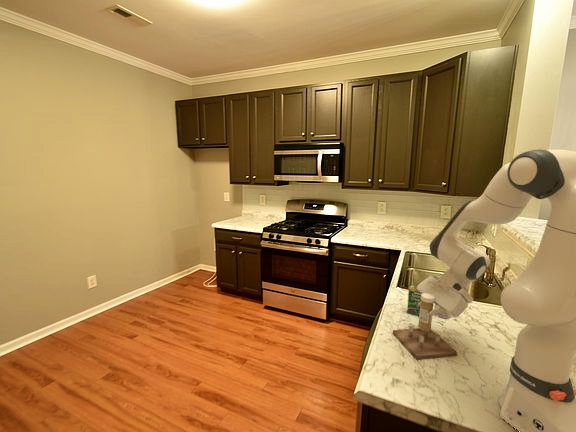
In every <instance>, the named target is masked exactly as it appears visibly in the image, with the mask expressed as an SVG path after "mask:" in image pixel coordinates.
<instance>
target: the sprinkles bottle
mask: <svg viewBox="0 0 576 432" xmlns="http://www.w3.org/2000/svg"><path fill="white" fill-rule="evenodd" d="M434 299H435V297H434V296H433V295H431V294H428V293H423V294H421V305H420V313H419V316H418V324H417V328H420V329H421V330H423V331H430V330H432V321H433V316H431V315H430V314H429V313H428V311H429V310H430V309H434V304H435V303H434Z"/></svg>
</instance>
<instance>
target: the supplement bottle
mask: <svg viewBox="0 0 576 432" xmlns="http://www.w3.org/2000/svg"><path fill="white" fill-rule="evenodd" d="M436 306H437V305H436V304H435V303H434V309H435V308H437V307H436ZM435 315H436V316H437V317H439V318H444V319H448V318H450V317H452V316H451V315H450V314H449V313H447V312H446V311H445V310H443V311H442V312H440V313H437V314H435Z"/></svg>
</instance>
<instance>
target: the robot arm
mask: <svg viewBox="0 0 576 432" xmlns="http://www.w3.org/2000/svg"><path fill="white" fill-rule="evenodd" d="M533 197H534V198H535V199H538V200H544V199H548V201H549V202H550V205H551V208H550V213H549V215H548V219H547V221H546V225H545V228H544V231H543V233H542V236H541V238H540V239H541V240H540V243H539V245H538V249H537V250H536V252H535V255H534V256H533V258H532V259H531V260H530V262H529V264H527V266H526V268H525V269H524V270H523V272H522V273H521V274H520V275H519V276H518V277H517V278H516V279H515V280H514V281H513V282H511V283H510V284H508V285H507V286H505V287H504V288H503V289H502V291H501V293H500V304H501V308H502V309H503V311H504V312H505V314H506V315H507V316H508V317H509V318H510V319H511V320H513V321H514V322H517V323H519V324H523V325H526V326H524V327H523V328H522V329H520V331H519V332H518V334H517V338H516V343H515V349H514V350H515V351H514V356H512V357H511V361H510V365H509V373H510V374H509V378H508V381H507V384H506V386H505V388H504V391H503V392H502V393H501V395H500V396H499V399H498V403H499V406H500V413H499V417H500V418H501V420H503V419H504V420H505V421H504V420H503V421H504V422H505V423H507V424H508V423H509V424H510V425H509V424H508V425H509V426H510V427H512V428H513V427H514V428H515V429H514V428H513V429H514V430H516V429H517V430H518V431H520V432H576V389H574V387H573V383H572V380H571V378H570V377H571V376H570V375H571V372H572V367H573V363H574V360H575V355H576V151H575V150H568V149H563V148H561V149H560V148H559V149H558V148H556V149H555V148H553V149H542V148H540V149H531V150H528V151H524V152H521V153H520V154H518V155H516V156H514V158H513V159H511V162H509V163H506V164H504V165H503V166H501V168H500V169H499V170H498V171H497V172H496V173H495V175H494V176H493V178H491V180H490V181H489V183H488V185H487V186H486V188H485V189H484V190H483V193H482V194H481V195H480V196H479V197H478V198H477V199H470V200H468V201H466V202H465V203H464V204H462V206H461V207H460V208H459V209H458V210H457V211H456V212H455V214H454V215H453V216H452V217H451V218H450V219H449V221H448V222H447V223H446V224H445V226H444V227H443V228H442V229H441V231H440V232H439V233H438V234H437V235H436V236H435V237H434V238H433V239H432V241H431V242H430V243H429V252H430V255H431V257H434V258H435V259H437V260H439V261H441V262H443V263H444V264H445V265H446V266H448V267H449V269H447V270H446V271H444V273H443V274H442V275H441V276H439V277H438V276H436V275H430V276H429V277H426V278H425V279H424V280H422V281H421V282H420V283H419V284H417V285H416V287H417V290H418V291H419V292H420V293H421V294H423V293H428V294H431V295H433V296H434V297H435V299H434V303H433V304H434V305H435V304H436V305H437V306H436V307H437V308H435V307H434V308H433V309H430V310H429V311H428V313H429V314H430V315H431V316H432V317H434V316H435V315H436V314H437V313H440V312H442V311H443V310H445V311H446V312H447V313H449V314H450V315H451V316H450V317H453V318H457V317H459V316H460V315H462V314H463V312H464V311H466V309H467V308H468V307H469V304H471V303H472V302H474V298H473V296H471V294H470V293H469V292H468V288H470V285H471V284H472V283H473V282H474V281H477V280H479V279H480V278H481V277H482V276H483V275H484V274H485V273H486V271H487V269H488V267H489V266H490V264H491V260H490V257H489V255H487V254H486V253H485V252H484V251H482V250H480V249H478V248H472V247H470V246H468V245H466V244H465V243H463V242H462V241H460V240H459V239H458V238H457V234H458V233H459V232H460V231H461V229H462V228H463V227H464V226H465V225H466V224H467V223H468V222H476V223H480V224H487V225H495V226H497V225H506V224H508V223H512V222H513V221H515V220H517V218H518V217H519V216H520V215H521V214H522V213H523V211H524V209H526V207H527V205H528V204H529V202H530V201H531V200H532V198H533ZM418 305H419V306H420V305H421V302H420V303H419V304H418ZM517 430H516V431H517ZM518 431H517V432H518Z"/></svg>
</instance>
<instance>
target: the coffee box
mask: <svg viewBox="0 0 576 432" xmlns="http://www.w3.org/2000/svg"><path fill="white" fill-rule="evenodd" d="M407 296H408V297H407V311H406V313H407V314H409V315H413V316H417V317H419V313H420V306H419V305H418V304H419V303H420V302H421V293H420V292H419V291H418V290H417V286H415V285H409V287H408V294H407Z"/></svg>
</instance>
